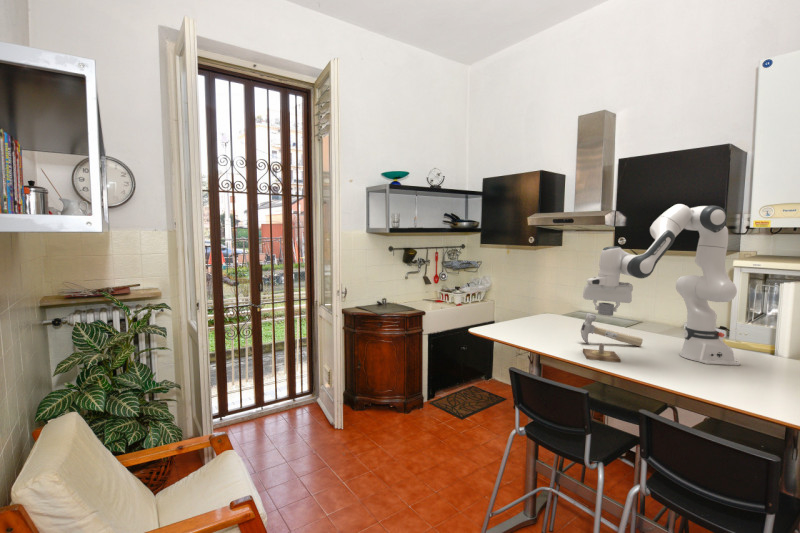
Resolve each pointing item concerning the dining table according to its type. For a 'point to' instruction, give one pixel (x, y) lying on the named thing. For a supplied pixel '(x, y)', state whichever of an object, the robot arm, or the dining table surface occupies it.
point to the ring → (606, 309)
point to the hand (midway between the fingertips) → (605, 310)
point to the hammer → (606, 332)
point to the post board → (601, 354)
